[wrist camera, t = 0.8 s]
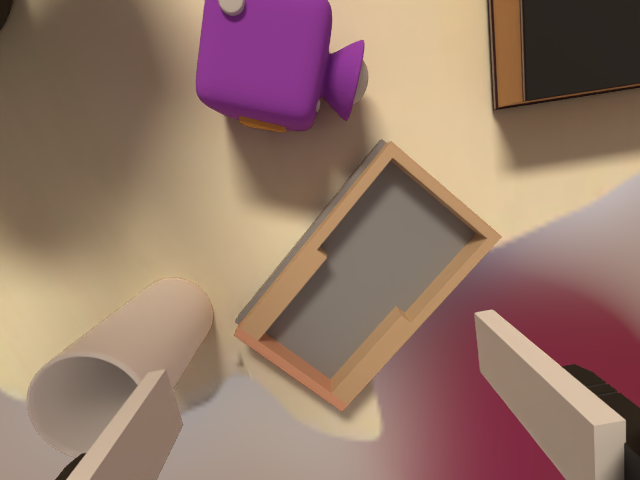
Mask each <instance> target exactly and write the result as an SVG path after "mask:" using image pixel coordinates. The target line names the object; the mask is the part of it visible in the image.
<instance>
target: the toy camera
mask: <svg viewBox="0 0 640 480" xmlns="http://www.w3.org/2000/svg"><path fill="white" fill-rule="evenodd" d="M331 29H332V11H331V6H330V4H329V2H328V0H205V4H204V12H203V21H202V29H201V38H200V46H199V55H198V63H197V73H196V91H197V95H198V97H199V99H200V100H201V101H202V102H203V103H204V104H205V105H207V106H208V107H210V108H212V109H214V110H215V111H217V112H219V113H221V114H223V115H225V116H228V117H231V118H234V119H238V120H239V122H240V123H242V124H244V125H245V126H248V127H253V128H259V129H265V130H271V131H277V132H283V133H285V132H286V129H288V130H293V131H305V130H308V129H310V128H311V127H312V125H313V123H314V121H315V119H316V115H317V111H319V109H320V98H321V97H323V98H324V99H325V100H326V101H327V102H328V103H329V104H330V106H331V107H332V108H333V109H334V110H335V111H336V113H337V114H338V115H339V116H340V117H341V118H342V119H344V120H345V121H347V120H348V118H349V116H350V113H351V110H352V106H353V104H355V103H357V102H358V101H359V100H360V99H361V98H362V96H363V95H364V93H365V91H366V88H367V84H368V70H367V66H366V64H365V62H364V61H363V54H364V40H360V41H357V42H355V43H352V44H350V45H348V46H346V47H344V48H343V49H341V50H339V51H337V52H335V53H332V54H329V44H330V37H331Z"/></svg>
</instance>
